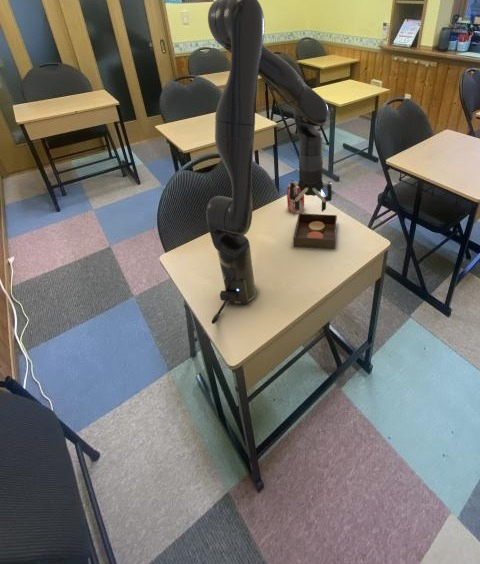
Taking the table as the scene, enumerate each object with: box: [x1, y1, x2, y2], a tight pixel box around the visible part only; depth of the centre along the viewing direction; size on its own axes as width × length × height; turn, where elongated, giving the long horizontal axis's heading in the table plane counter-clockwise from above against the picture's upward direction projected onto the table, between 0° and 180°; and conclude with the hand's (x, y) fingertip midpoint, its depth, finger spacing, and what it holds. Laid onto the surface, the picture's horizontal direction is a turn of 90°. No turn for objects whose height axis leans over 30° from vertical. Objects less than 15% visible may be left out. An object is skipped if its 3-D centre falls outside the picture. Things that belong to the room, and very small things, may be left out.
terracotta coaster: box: [307, 232, 323, 238], centre depth 132 cm, size 6×6×2 cm
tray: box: [292, 212, 338, 250], centre depth 134 cm, size 17×15×4 cm
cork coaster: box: [309, 221, 325, 233], centre depth 137 cm, size 6×6×2 cm
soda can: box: [286, 182, 305, 214], centre depth 145 cm, size 7×7×12 cm
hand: (310, 209), depth 123 cm, fingers open, 8 cm apart
